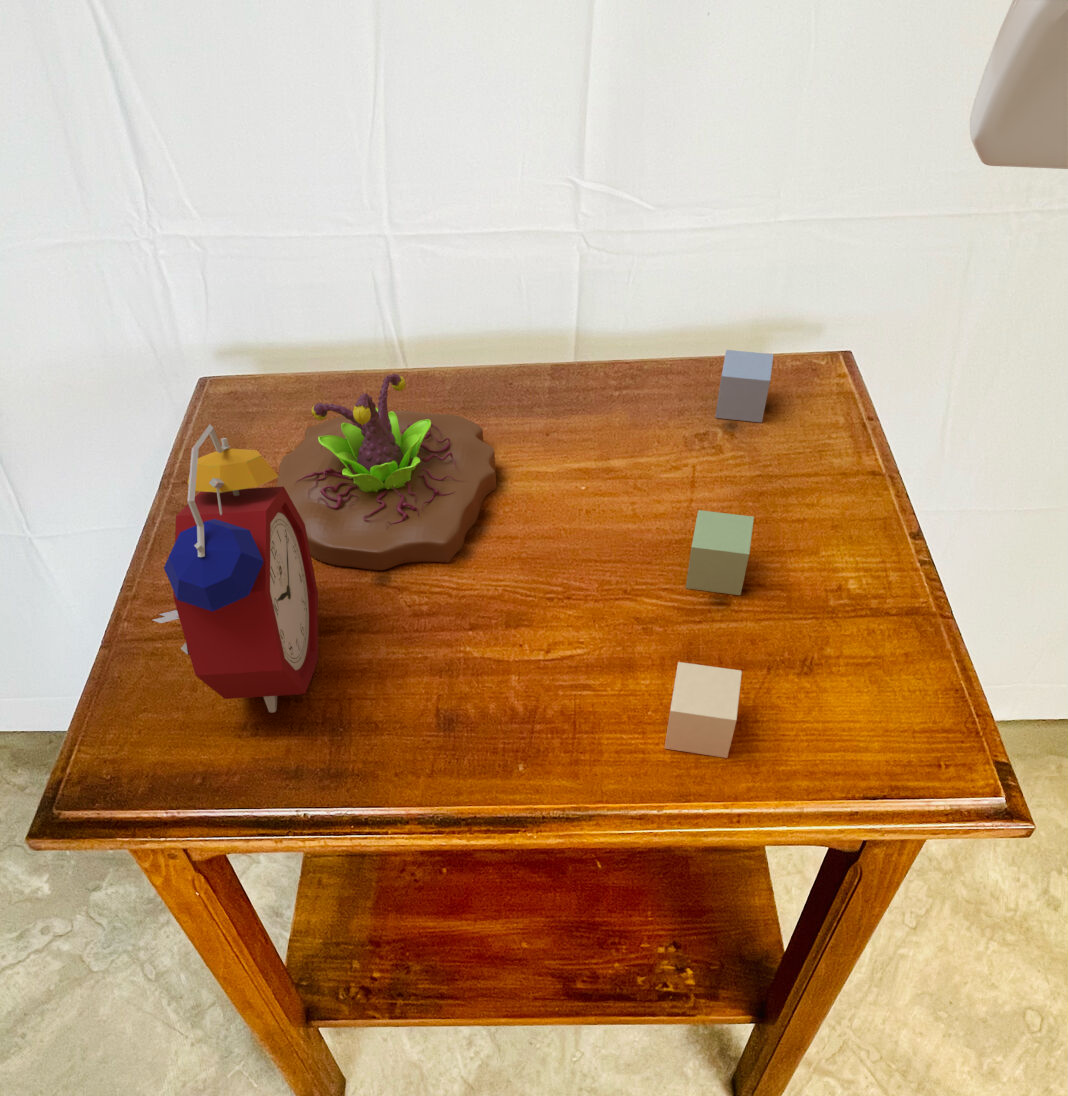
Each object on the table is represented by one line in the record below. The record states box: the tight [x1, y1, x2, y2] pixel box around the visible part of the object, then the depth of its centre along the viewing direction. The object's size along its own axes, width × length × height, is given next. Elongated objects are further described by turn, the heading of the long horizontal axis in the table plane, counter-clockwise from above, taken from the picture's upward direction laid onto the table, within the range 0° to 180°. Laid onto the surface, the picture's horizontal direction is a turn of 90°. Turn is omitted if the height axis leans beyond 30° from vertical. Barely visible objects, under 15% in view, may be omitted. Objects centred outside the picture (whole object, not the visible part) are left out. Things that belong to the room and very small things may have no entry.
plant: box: [275, 373, 497, 571], centre depth 78 cm, size 20×20×11 cm
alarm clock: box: [152, 423, 319, 714], centre depth 63 cm, size 15×9×20 cm, turn 3°
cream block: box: [664, 661, 743, 759], centre depth 64 cm, size 4×4×4 cm
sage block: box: [685, 509, 755, 596], centre depth 73 cm, size 4×4×4 cm
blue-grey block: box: [714, 349, 774, 424], centre depth 87 cm, size 4×4×4 cm
